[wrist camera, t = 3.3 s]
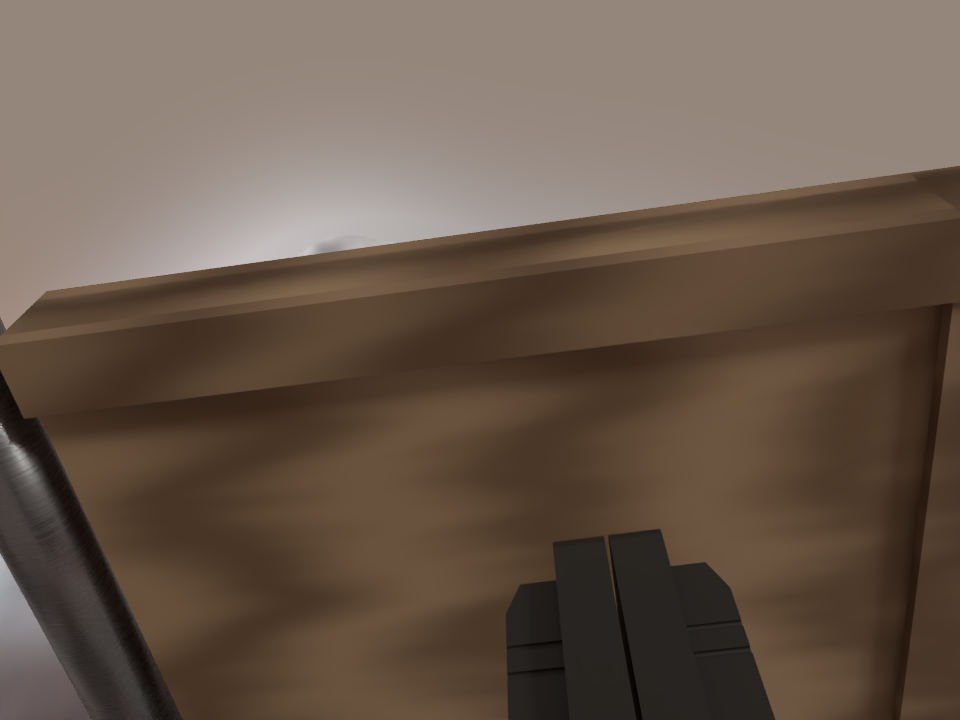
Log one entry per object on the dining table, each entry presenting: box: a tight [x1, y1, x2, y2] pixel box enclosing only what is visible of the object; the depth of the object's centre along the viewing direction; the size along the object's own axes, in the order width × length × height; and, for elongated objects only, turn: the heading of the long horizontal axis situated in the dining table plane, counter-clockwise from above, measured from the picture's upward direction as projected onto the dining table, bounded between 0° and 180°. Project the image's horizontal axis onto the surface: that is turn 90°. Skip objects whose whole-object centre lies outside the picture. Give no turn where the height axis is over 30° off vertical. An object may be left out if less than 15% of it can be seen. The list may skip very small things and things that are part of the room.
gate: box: [0, 166, 960, 720], centre depth 20 cm, size 19×2×16 cm, turn 90°
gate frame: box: [0, 318, 183, 720], centre depth 20 cm, size 26×4×19 cm, turn 90°
